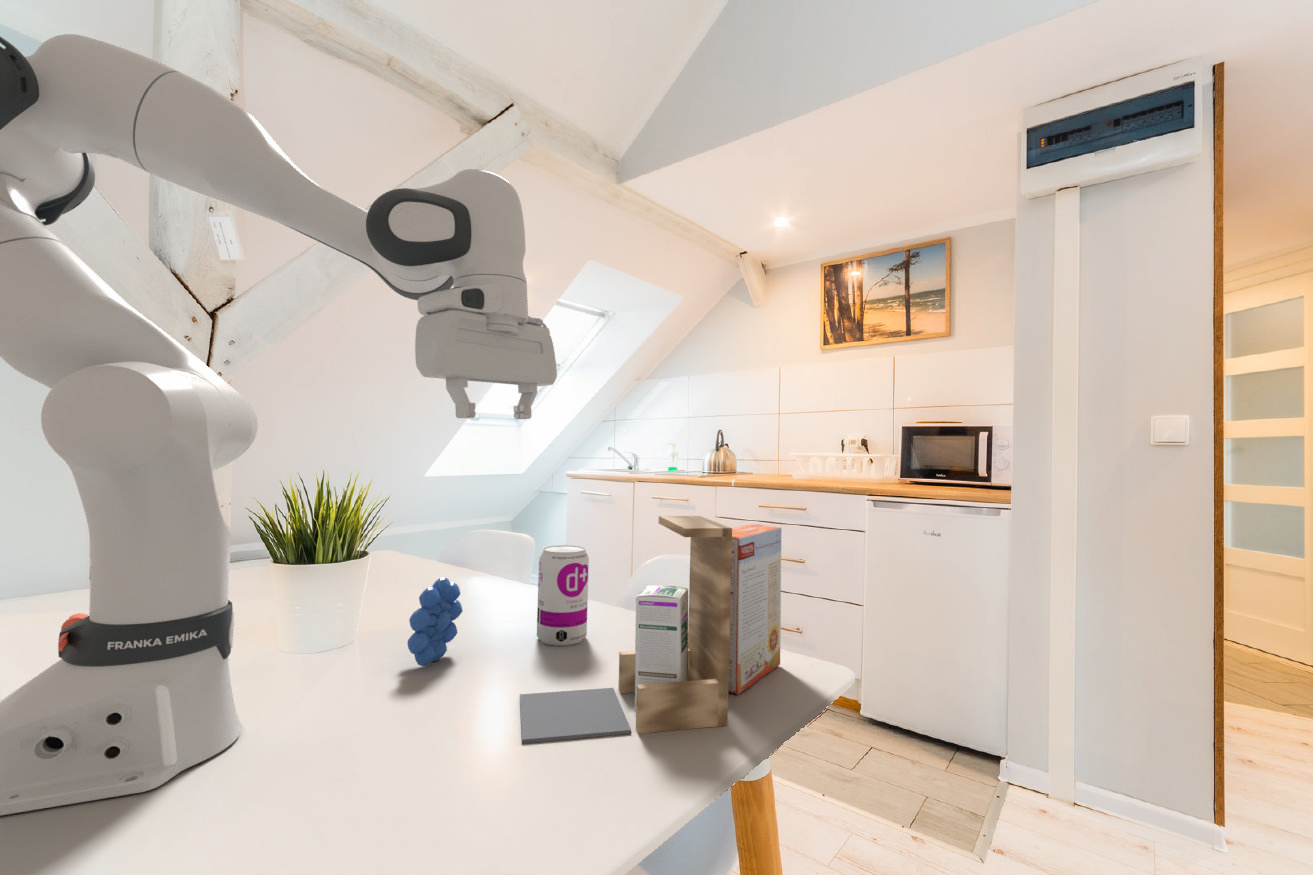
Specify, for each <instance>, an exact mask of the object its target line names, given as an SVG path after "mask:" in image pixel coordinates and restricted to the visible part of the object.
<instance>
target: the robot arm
mask: <svg viewBox="0 0 1313 875" xmlns="http://www.w3.org/2000/svg"><path fill="white" fill-rule="evenodd" d="M0 44H1V45H2V46H4V47H5V48H4V47H2V46H1V45H0V358H1V359H2V360H3V361H4V362H5V363H7V364H8V365H9V366H10V367H12V368H13V369H14V370H16V372H19V373H20V374H22V375H24V376H25V377H28V378H29V379H32V380H33V381H37V382H38V383H40V384H42V385H43V386H45V387H47V388H49V389H51V390H50V391H49V392H48V394H47V395H46V397H45V400H44V402H43V404H42V408H41V414H40V421H41V422H40V424H41V429H42V433H43V435H44V438H45V440H46V442H47V443H48V445H49V446H50V447H51V449H52V450H53V451H54V453H56V455H58V457H60V458H61V459H62V460H63V461H64V462H65V463H66V464H67V466H68V467H69V469H70V471H71V474H72V475H73V478H74V481H75V484H76V487H77V490H78V494H79V497H80V500H81V503H82V507H83V511H84V514H85V518H86V523H87V528H88V531H89V532H88V533H89V542H90V581H89V582H90V583H89V584H90V585H89V608H88V610H89V612H88V613H89V614H86V613H83V612H82V613H81V612H80V613H78V612H77V613H75V614H72V615H70V616H69V617H68V619H66V620H65V621H64V622H63V623H62V625H61V628H60V632H59V636H58V642H57V647H58V648H57V649H58V650H57V651H58V652H57V653H58V658H60V659H59V660H57V661H56V662H55V663H54V664H52V665H50V666H49V667H47V668H46V669H45V670H43V671H41V672H40V673H39V674H38V675H36V676H34V677H33V678H32V679H31V678H30V680H28V681H27V682H26V683H24V684H23V685H22V686H19V687H18V688H16V690H14V691H13V692H11V693H10V694H8V695H7V696H6V697H4V698H3V699H0V816H5V815H6V816H7V815H11V814H17V813H23V812H30V811H35V810H42V809H46V808H55V807H60V806H67V805H72V804H79V803H84V802H90V801H97V800H103V799H107V798H114V797H115V798H116V797H121V796H127V795H131V794H138V793H139V794H140V793H145V792H147V791H150V790H151V791H152V790H153V789H156V788H158V787H160V786H162V785H163V784H165V783H166V782H168V781H169V780H171V779H172V778H173V777H175V776H176V775H178V774H179V773H181V772H183V771H184V770H186V769H188V768H191V767H192V766H195V765H197V764H199V763H201V762H204V761H206V760H207V759H210V758H213V757H214V756H215V755H217V754H219V753H221V752H222V751H224V750H225V749H226V748H228V747H230V746H231V745H232V744H233V743H234V742H236V740H237V739H238V738H239V737H240V735H241V733H242V724H241V721H240V718H239V714H238V712H237V708H236V704H235V699H234V696H233V695H234V694H233V689H232V683H231V674H230V673H231V672H230V664H229V660H230V659H229V656H230V654H231V652H232V648H233V643H234V642H233V641H234V626H235V624H234V623H235V617H234V616H235V615H234V614H235V613H234V611H233V610H234V609H233V602H232V601H231V600H230V599H229V588H230V587H229V584H230V560H231V559H230V557H231V537H232V536H231V529H230V526H229V524H228V523H227V522H226V520H225V518H224V516H223V513H222V510H221V507H220V503H219V499H218V494H217V489H216V483H215V478H214V470H217V469H218V470H219V469H220V468H223V467H225V466H227V465H229V464H231V463H232V462H234V461H235V460H237V459H238V458H240V457H241V456H242V455H243V454H244V453H245V452H247V450H248V449H250V447H251V446H252V444H253V443H254V441H255V439H256V436H257V432H258V427H259V426H258V419H257V418H258V417H257V414H256V411H255V409H254V408H253V406H252V404H251V403H250V402H249V401H248V399H246V397H244V395H243V394H241V393H240V392H239V391H237V390H236V389H235V388H234V387H233V386H231V385H230V384H229V383H227V381H225V380H224V379H223V378H222V377H221V376H220V375H218V374H217V373H216V372H214V370H212V369H211V368H210V367H208V366H207V365H206V364H205V363H204V362H203V361H201V360H200V359H199V358H198V357H197V356H196V355H194V354H193V353H191V352H190V351H189V350H188V349H186V347H184V346H183V345H181V344H180V343H179V342H178V341H176V339H175V338H172V337H171V336H170V335H169V334H167V333H166V332H165V331H164V330H163V329H161V328H159V327H158V326H157V325H156V324H155V323H154V322H152V321H151V320H149V319H148V318H146V316H144V315H143V314H141V313H140V312H139V311H138V310H137V309H136V308H134V307H133V306H132V305H131V304H130V303H129V302H127V301H126V300H125V299H124V298H123V297H122V296H121V295H120V294H119V293H118V292H116V291H115V290H114V289H113V288H112V286H110V285H109V284H108V283H107V282H106V281H105V280H103V279H102V277H100V276H99V275H98V274H97V273H96V272H95V271H94V270H93V269H92V268H91V267H90V266H89V265H87V263H85V262H84V260H82V259H81V258H80V257H79V256H78V255H77V254H76V253H75V252H74V251H73V250H71V248H69V247H68V245H66V244H65V243H64V242H63V241H62V240H61V239H60V238H59V237H58V236H56V235H55V234H54V233H53V232H52V231H51V230H50V229H49V228H48V227H47V226H50V225H53V224H54V223H56V222H57V221H58V220H59V218H60V217H61V216H62V215H65V214H67V213H69V212H71V211H73V210H74V209H76V208H77V207H78V206H81V204H82V203H83V202H84V201H85V200H86V199H87V198H88V197H89V195H90V194H91V192H92V190H93V189H94V187H95V183H96V173H95V168H94V165H93V162H92V160H91V157H90V155H89V154H97V155H104V156H108V157H111V158H115V159H119V160H121V161H124V162H126V163H128V164H129V165H132V166H133V167H136V168H138V169H140V170H143V171H144V172H147V173H149V174H151V175H153V176H156V177H158V178H160V179H163V180H165V181H167V182H170V183H173V184H175V185H177V186H181V187H183V188H185V189H188V190H191V191H193V192H196V193H198V194H201V195H204V196H207V197H209V198H211V199H216V200H218V201H221V202H224V203H227V204H229V205H232V206H233V207H234V206H235V207H236V208H240V209H242V210H245V211H248V212H250V213H253V214H255V215H258V216H259V217H263V218H266V219H268V220H272V222H273V221H274V222H276V223H279V224H280V225H283V226H285V227H288V228H289V229H292V230H293V231H296V232H298V233H299V234H301V235H305V236H306V237H308V238H311V239H312V240H315V241H317V242H319V243H321V244H323V245H325V246H327V247H329V248H331V249H333V250H335V251H337V252H339V253H341V254H344V255H346V256H348V257H350V258H352V259H354V260H356V261H357V262H360V263H362V264H363V265H365V266H367V268H369V269H370V270H371V271H373V272H374V273H375V274H377V276H378V277H379V278H380V279H381V280H382V282H384V283H385V284H386V285H387V286H388V287H389V288H390V289H391V290H393V291H394V292H395V293H397V294H398V295H400V296H401V297H404V298H407V299H409V300H413V301H416V302H417V310H418V313H419V315H421V316H422V317H420V318H419V320H418V321H417V324H416V328H415V342H414V344H415V345H414V346H415V347H414V351H415V352H414V353H415V365H416V368H417V370H418V371H419V373H420V375H421V376H422V377H423V378H430V379H443V380H445V389H446V391H447V392H448V394H449V396H450V398H451V399H452V402H453V403H454V406H455V407H454V408H455V416H456V418H457V419H474V418H476V412H477V411H476V402H471V401H470V399H469V397H468V394H467V392H466V389H465V388H468V387H469V384H468V383H469V382H481V383H490V384H491V383H492V384H502V385H503V384H505V385H515V386H516V385H517V391H518V392H517V393H518V394H520V398H519V401H518V403H517V405H513V417H514V419H516V420H530V419H531V418H532V405H533V403H534V402H535V399H536V396H537V394H538V387H547V386H552V385H555V382H556V379H557V377H558V370H557V360H556V353H555V348H554V342H553V339H552V336H551V333H550V332H551V331H550V329H549V328H548V326H547V325H546V324H545V323H544V321H543V319H541V318H540V317H532V316H529V309H528V308H529V306H528V304H529V303H528V284H527V283H528V282H527V277H526V274H525V271H524V259H525V256H526V248H527V247H526V231H525V221H524V215H523V208H522V204H521V200H520V196H519V194H518V192H517V190H516V188H515V186H513V185H512V183H510V182H509V181H508V180H507V179H505V178H503V177H502V176H501V175H498V174H496V173H494V172H492V171H488V170H484V169H479V168H478V169H476V168H475V169H473V168H470V169H463V170H460V171H458V172H457V173H456V174H454V175H453V176H452V177H450V178H449V179H447V180H444V181H442V182H440V183H436V184H433V185H427V186H424V187H417V188H409V187H408V188H406V187H405V188H395V189H392V190H389V191H386V192H384V193H382V194H381V195H379V197H377V198H376V199H375V200H374V201H373V203H372V204H371V205H370V207H369V208H368V211H367V210H366V209H364V208H362V207H360V206H358V205H356V204H354V203H352V202H350V201H349V200H346V199H344V198H342V197H340V196H338V195H337V194H335V193H333V192H331V191H329V190H328V189H325V188H324V187H322V186H320V185H319V184H317V183H316V182H315V181H313V180H312V179H311V178H310V177H308V176H307V174H305V173H304V172H302V171H301V169H299V167H297V166H296V165H295V164H294V163H293V161H292V160H291V159H290V158H289V157H288V156H287V155H286V154H285V152H283V151H282V149H281V148H280V147H279V145H278V144H277V143H276V141H275V140H274V139H273V138H272V137H271V136H270V135H269V133H268V132H267V131H266V129H265V128H264V127H263V126H262V124H260V123H259V121H258V120H257V119H256V118H255V117H254V116H253V115H252V114H251V113H250V112H248V111H247V110H245V109H244V108H243V107H241V106H240V105H238V104H237V103H235V102H234V101H232V100H231V99H229V98H228V97H226V96H225V95H224V94H222V93H221V92H219V91H218V90H216V89H215V88H212V87H211V86H209V85H208V84H205V83H203V82H202V81H199V80H197V79H195V78H194V77H191V76H189V75H187V74H185V73H183V72H181V71H179V70H176V69H174V68H172V67H170V66H168V65H166V64H163V63H162V62H159V61H156V60H154V59H151V58H149V57H148V56H144V55H141V53H140V54H139V53H137V52H134V51H131V50H129V49H126V48H123V47H120V46H117V45H114V44H111V43H108V42H106V41H103V40H99V39H95V38H92V37H89V36H86V35H85V36H84V35H79V34H71V33H69V34H68V33H67V34H66V33H64V34H59V35H55V36H53V37H50V38H48V39H47V40H45V41H44V42H43V43H41V45H39V47H38V48H37V49H36V51H35V52H33V54H31V55H28V56H25V55H23V54H22V52H21V51H20V50H18V48H17V47H16V46H14V45H13V44H12V43H11V42H9V41H8V40H7V39H5V38H4V37H2V36H0ZM42 220H44V221H42Z"/></svg>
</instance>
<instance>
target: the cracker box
mask: <svg viewBox="0 0 1313 875" xmlns="http://www.w3.org/2000/svg"><path fill="white" fill-rule="evenodd" d="M731 528H732V556H731V598H730V640H729V682H728V693H732V694H735V695H740V694H741V693H743V692H744V691H745V690H747V689H748V688H749V687H751V686H752V685H754V684H756V683H757V682H758V681H759V680H761V679H762V678H763V677H765V676H766V675H768V674H769V673H771V672H772V671H774V669H776V668H778V667H779V666H780V665H781V636H782V635H781V634H782V633H781V632H782V630H781V629H782V628H781V627H782V626H781V625H782V624H781V621H782V620H781V619H782V618H781V617H782V616H781V614H782V612H781V611H782V610H781V609H782V608H781V606H782V603H781V602H782V596H781V595H782V527H780V526H770V525H765V524H764V525H763V524H754V523H753V524H745V525H742V526H741V525H740V526H737V527H731Z"/></svg>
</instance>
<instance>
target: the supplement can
mask: <svg viewBox="0 0 1313 875" xmlns="http://www.w3.org/2000/svg"><path fill="white" fill-rule="evenodd" d="M589 562H590V559H589V555H588V553H587V551H586V548H585V547H584V546H579V545H572V544H571V545H568V544H566V545H565V544H564V545H562V544H560V545H550V546H549V545H548V546H545V547H543V549H542V552H541V554H540V556H539V557H538V576H537V577H538V578H537V579H538V583H537V586H538V588H537V611H536V612H537V617H536V637H537V638H538V639H539V640H540V641H541V643H543V644H545V645H548V646H554V647H555V646H556V647H557V646H558V647H559V646H560V647H561V646H562V647H564V646H565V647H566V646H572V645H576V644H578V643H581V642H583V640H584V638H586V637H587V631H588V630H587V629H588V628H587V627H588V599H589V598H588V596H589V594H588V593H589V566H590V565H589V564H590V563H589Z"/></svg>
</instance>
